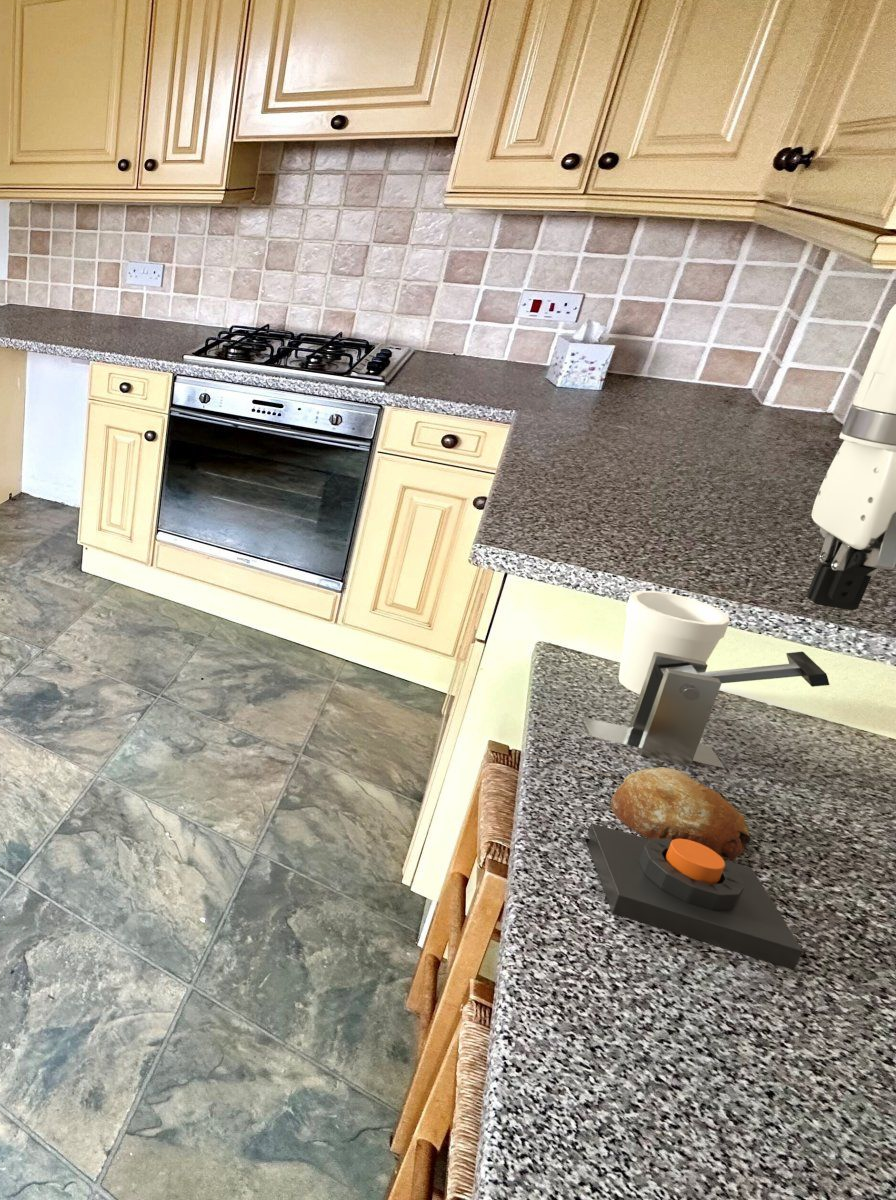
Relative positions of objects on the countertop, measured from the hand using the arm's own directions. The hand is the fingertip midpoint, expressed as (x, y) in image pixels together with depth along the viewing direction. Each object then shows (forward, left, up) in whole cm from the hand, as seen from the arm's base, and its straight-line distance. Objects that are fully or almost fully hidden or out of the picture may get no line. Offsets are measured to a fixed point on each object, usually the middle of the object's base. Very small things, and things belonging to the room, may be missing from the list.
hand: (830, 603), depth 79 cm
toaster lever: (+4, 0, -11) cm, 12 cm away
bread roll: (+10, +13, -23) cm, 28 cm away
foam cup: (+5, -18, -23) cm, 30 cm away
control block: (+13, +24, -23) cm, 35 cm away
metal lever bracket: (+9, 0, -23) cm, 24 cm away
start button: (+13, +24, -19) cm, 33 cm away
